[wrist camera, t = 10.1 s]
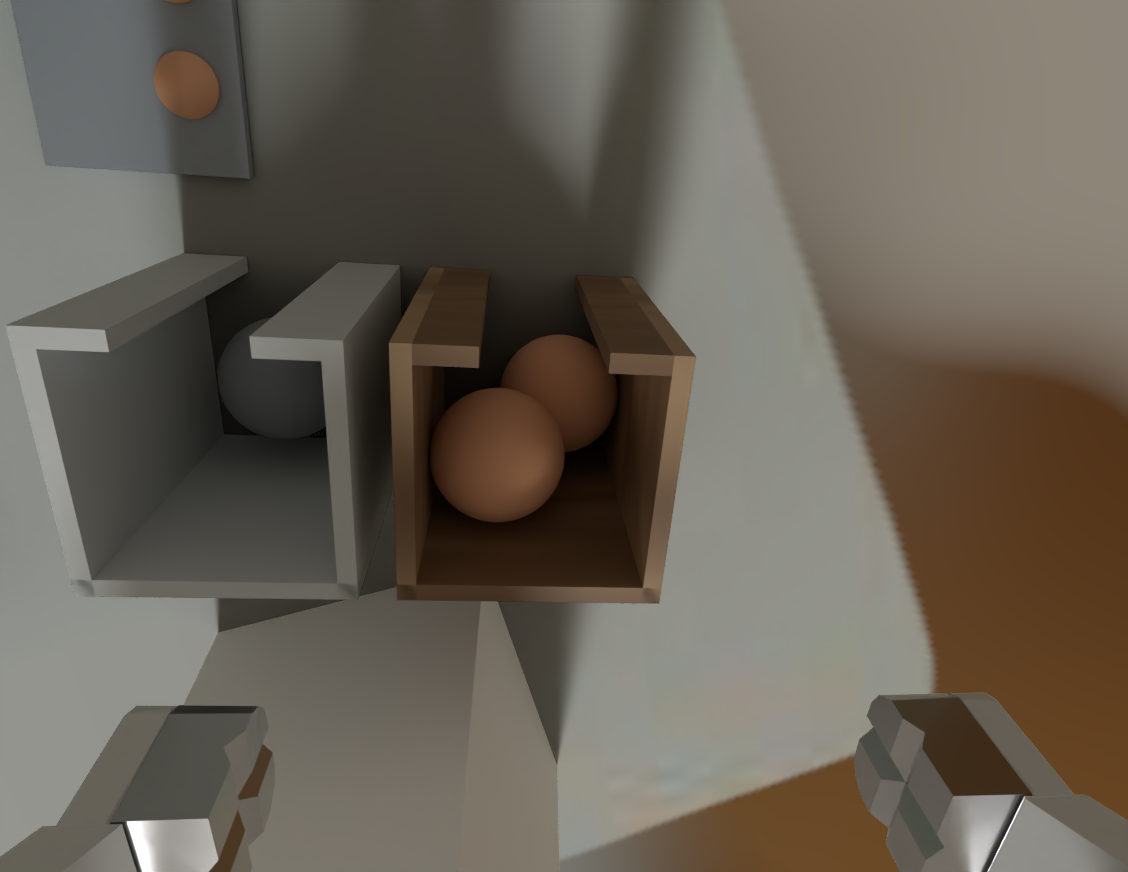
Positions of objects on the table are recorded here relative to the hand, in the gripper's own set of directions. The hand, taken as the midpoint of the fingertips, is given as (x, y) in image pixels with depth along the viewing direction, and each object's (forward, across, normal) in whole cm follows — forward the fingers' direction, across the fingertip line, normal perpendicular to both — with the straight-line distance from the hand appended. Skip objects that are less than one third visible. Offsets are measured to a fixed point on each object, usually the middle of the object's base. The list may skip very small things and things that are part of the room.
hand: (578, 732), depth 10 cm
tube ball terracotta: (+17, 0, +1) cm, 17 cm away
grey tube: (+18, +8, +1) cm, 19 cm away
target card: (+18, +12, -9) cm, 23 cm away
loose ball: (+12, -1, +2) cm, 12 cm away
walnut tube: (+17, 0, +1) cm, 17 cm away
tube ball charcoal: (+18, +8, +1) cm, 19 cm away
